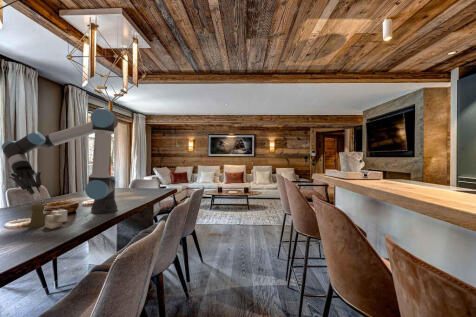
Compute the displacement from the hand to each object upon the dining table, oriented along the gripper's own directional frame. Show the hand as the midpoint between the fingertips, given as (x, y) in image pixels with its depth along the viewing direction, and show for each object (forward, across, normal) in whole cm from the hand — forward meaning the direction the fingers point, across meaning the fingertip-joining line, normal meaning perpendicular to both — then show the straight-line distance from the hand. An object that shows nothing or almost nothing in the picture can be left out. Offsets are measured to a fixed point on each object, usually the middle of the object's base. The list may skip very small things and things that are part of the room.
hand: (37, 198), depth 117 cm
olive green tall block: (+10, 0, -10) cm, 14 cm away
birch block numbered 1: (+16, -3, -4) cm, 17 cm away
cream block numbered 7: (+11, -9, -9) cm, 17 cm away
